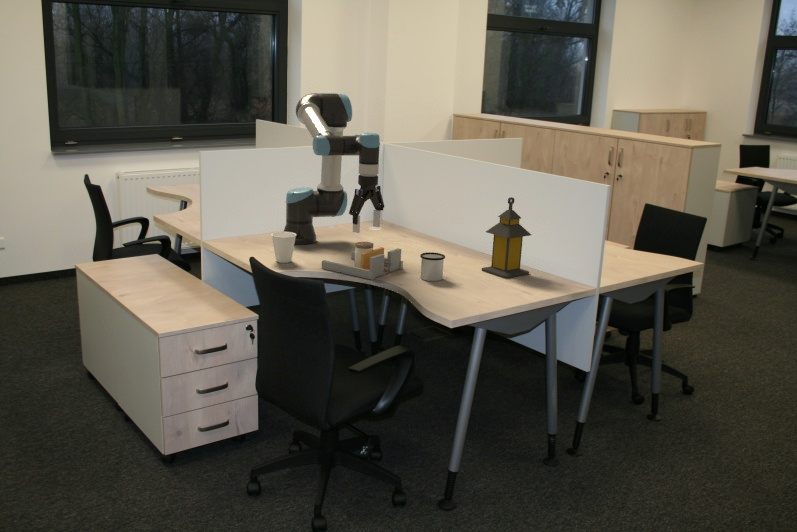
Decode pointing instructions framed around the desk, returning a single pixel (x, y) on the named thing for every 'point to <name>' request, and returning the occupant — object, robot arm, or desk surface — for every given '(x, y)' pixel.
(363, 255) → the pusher
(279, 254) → the cup
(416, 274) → the desk surface
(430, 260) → the mug
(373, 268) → the lane
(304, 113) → the robot arm
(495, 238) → the lantern
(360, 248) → the jar
